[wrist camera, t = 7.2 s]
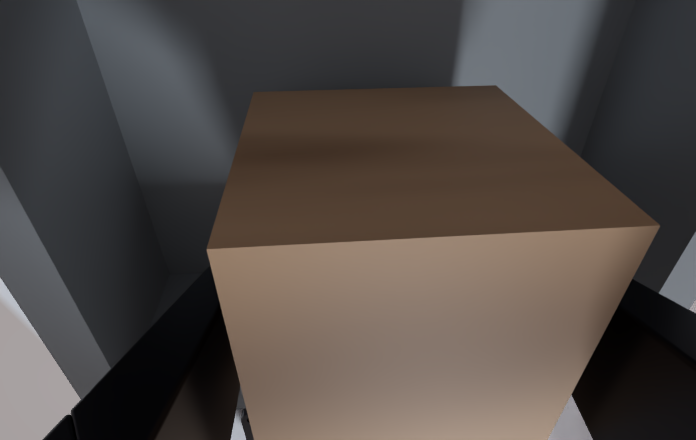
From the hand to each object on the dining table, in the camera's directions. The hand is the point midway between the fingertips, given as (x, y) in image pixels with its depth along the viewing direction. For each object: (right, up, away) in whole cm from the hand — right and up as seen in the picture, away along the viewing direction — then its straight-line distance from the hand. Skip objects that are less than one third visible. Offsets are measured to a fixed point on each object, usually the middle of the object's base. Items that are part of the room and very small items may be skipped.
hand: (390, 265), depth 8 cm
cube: (0, +2, +2) cm, 3 cm away
